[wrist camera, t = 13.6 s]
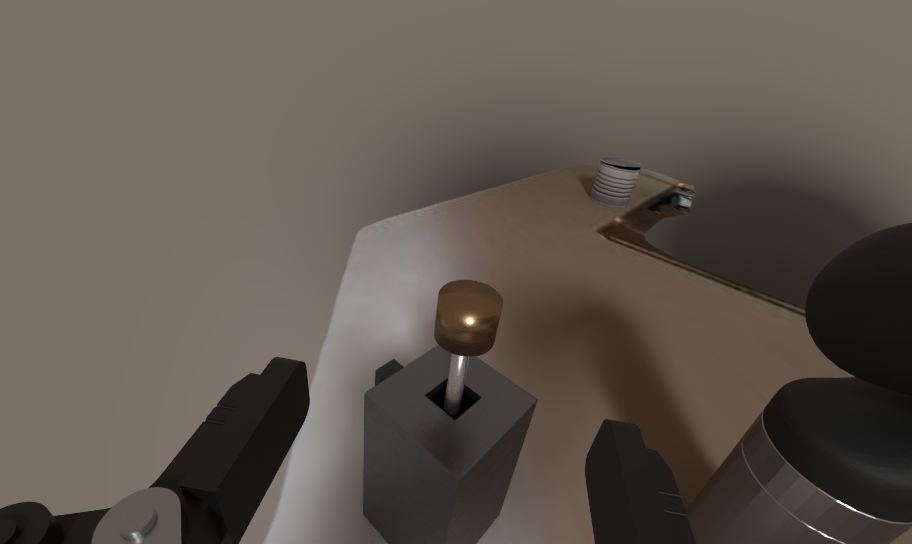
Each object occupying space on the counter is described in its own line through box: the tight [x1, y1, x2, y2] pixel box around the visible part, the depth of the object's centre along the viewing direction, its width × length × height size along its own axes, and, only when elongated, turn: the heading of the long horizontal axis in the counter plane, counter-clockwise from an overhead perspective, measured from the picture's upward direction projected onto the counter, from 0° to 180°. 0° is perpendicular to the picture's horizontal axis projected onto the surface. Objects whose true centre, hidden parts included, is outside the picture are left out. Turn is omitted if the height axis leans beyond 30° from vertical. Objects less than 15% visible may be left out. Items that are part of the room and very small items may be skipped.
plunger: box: [434, 280, 503, 421], centre depth 30 cm, size 7×7×20 cm
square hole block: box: [363, 345, 538, 544], centre depth 35 cm, size 12×9×16 cm
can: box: [590, 158, 643, 208], centre depth 118 cm, size 11×11×12 cm
